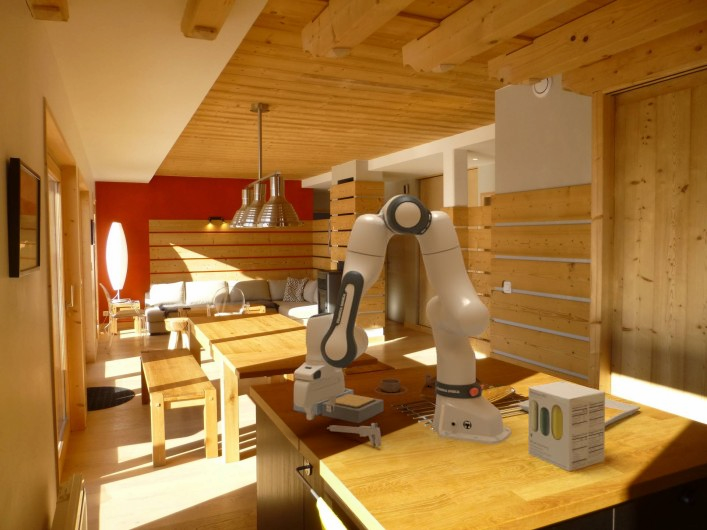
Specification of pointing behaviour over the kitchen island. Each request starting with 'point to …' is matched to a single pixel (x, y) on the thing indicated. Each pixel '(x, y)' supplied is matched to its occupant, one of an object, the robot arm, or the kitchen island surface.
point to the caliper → (361, 432)
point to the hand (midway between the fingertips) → (320, 415)
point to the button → (353, 401)
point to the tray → (320, 404)
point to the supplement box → (566, 424)
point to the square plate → (609, 403)
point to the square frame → (354, 411)
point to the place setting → (394, 385)
